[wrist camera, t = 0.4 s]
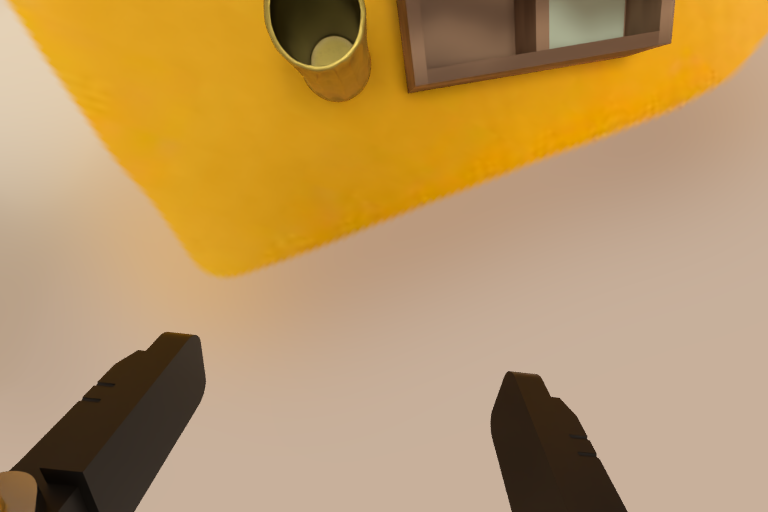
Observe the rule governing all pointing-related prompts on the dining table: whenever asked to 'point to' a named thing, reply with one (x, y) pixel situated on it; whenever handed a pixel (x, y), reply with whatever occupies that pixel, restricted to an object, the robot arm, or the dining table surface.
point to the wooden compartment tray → (522, 36)
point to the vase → (323, 43)
